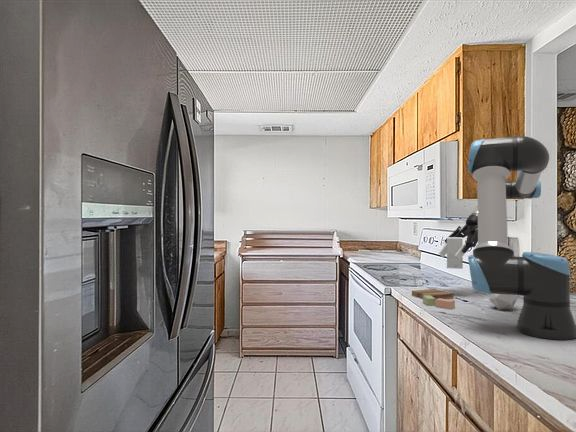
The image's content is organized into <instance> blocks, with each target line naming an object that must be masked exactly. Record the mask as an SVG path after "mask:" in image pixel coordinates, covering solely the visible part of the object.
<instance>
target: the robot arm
mask: <svg viewBox="0 0 576 432" xmlns="http://www.w3.org/2000/svg"><path fill="white" fill-rule="evenodd" d="M549 161H550V154H549V151H548V149H547V147H546V146H545V145H544V143H542V142H540V141H539V140H538V139H536V138H532V137H529V136H526V135H517V136H507V137H506V136H505V137H497V138H483V139H477V140H473V142H471V145H470V147H469V153H468V162H467V163H468V164H467V171H468V173H469V174H472V179H474V180H475V181H476V182H477V185H476V186H477V190H476V191H477V193H476V194H477V206H476V207H475V208H474V210H473V211H472V212H471V214H470V215H469V216H468V217H467V219H466V220H465V225H464V226H461V225H459V226H458V227H457V228H456V229H455V230H454V231H453V232H452V233H451V234H449V236H448V237H462V239H463V238H466V241H465V242H464V243H462V247H461V248H460V249H459V251H458V252H457V253H456V254H455V256H456V257H457V259H458V260H460V259H461V258H462V256H464V255H465V254H466V253H467V252H468V251H469V249H471V248H473V249H472V254H470V255H468V256H467V259H468V266H469V274H470V280H471V285H472V289H473V290H474V291H475V292H477V293H482V294H483V293H484V294H488V295H491V294H509V295H516V296H523V302H522V303H523V305H522V306H521V307H522V308H521V310H520V312H519V317H518V319H517V321H516V328H517V331H518V332H520V333H522V334H524V335H527V336H532V337H536V338H539V339H540V338H541V339H547V340H561V341H562V340H574V339H576V322H575V321H576V320H575V319H574V316H573V313H572V310H571V297H570V296H571V295H570V293H571V292H570V289H571V288H570V285H571V284H570V276H571V270H570V263H569V261H568V259H566V258H565V257H562V256H559V255H554V254H550V253H549V254H548V253H542V252H533V251H524V252H522V254H521V256H516V255H515V252H514V251H515V250H514V249H513V248H511V247H510V246H509V240H508V239H509V237H508V212H507V211H508V207H507V200H512V199H513V200H517V199H518V200H519V199H520V200H521V199H523V200H524V199H529V200H531V199H538V198H540V197H541V194H542V184H541V181H540V177H541V175H542V172H543V171H545V170H546V168H547V167H548V164H549ZM511 172H517V173H516V177H515V178H516V179H515V180H508V178H510V177H511ZM506 180H507V181H506ZM443 241H444V242H445V244H444V245H443V247H442V248H441V249H440V251H439V252H438V255H440V256H441V258H445V256H447V237H446V239H444V240H443Z"/></svg>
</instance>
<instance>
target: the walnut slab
mask: <svg viewBox="0 0 576 432" xmlns="http://www.w3.org/2000/svg"><path fill="white" fill-rule="evenodd" d="M423 295H431V296H432V297H434V298H435V299H439V298H441V299H447V300H453V299H454V293H452V292H448V291H444V290H441V289H438V288H428V289H427V288H426V289H417V290H411V296H413V297H416V298H419V299H422V300H423Z"/></svg>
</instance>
